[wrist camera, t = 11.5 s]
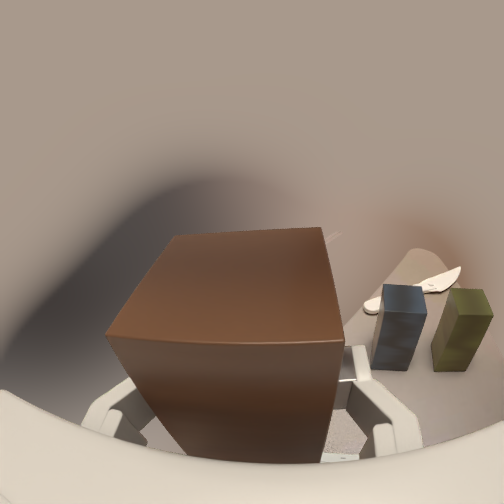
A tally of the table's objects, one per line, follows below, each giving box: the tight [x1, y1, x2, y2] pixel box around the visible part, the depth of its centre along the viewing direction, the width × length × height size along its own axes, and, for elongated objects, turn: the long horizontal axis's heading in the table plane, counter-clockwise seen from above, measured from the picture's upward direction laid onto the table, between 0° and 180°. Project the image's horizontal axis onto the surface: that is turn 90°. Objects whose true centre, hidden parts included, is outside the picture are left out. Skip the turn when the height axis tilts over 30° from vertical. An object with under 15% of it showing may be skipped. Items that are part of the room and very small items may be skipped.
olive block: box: [431, 288, 493, 372], centre depth 28 cm, size 5×5×10 cm
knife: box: [363, 267, 461, 314], centre depth 43 cm, size 26×4×1 cm, turn 102°
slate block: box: [371, 284, 427, 371], centre depth 31 cm, size 5×5×10 cm
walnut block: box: [105, 227, 345, 464], centre depth 10 cm, size 5×5×10 cm
